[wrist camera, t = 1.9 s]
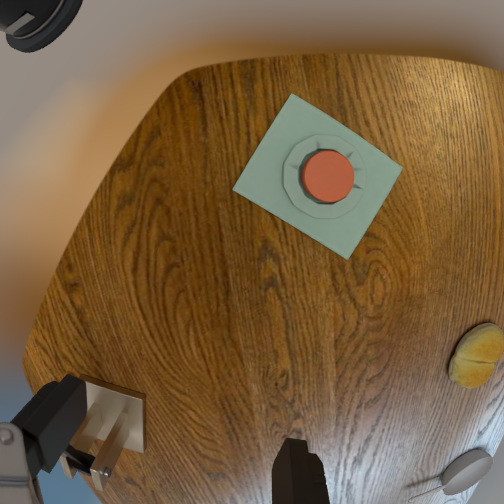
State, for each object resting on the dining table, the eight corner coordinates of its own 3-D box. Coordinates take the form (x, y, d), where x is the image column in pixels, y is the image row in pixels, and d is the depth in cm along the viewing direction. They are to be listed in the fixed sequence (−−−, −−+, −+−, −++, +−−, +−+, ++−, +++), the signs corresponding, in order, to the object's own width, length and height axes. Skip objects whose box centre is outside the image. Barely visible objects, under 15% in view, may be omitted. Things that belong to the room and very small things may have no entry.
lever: (34, 402, 20) (19, 436, 17) (67, 418, 20) (54, 454, 17) (80, 449, 29) (72, 473, 26) (106, 459, 29) (99, 484, 26)
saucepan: (476, 471, 39) (483, 483, 36) (397, 500, 40) (402, 515, 37) (493, 437, 37) (502, 449, 33) (409, 470, 38) (415, 486, 34)
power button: (292, 184, 25) (294, 184, 24) (317, 143, 25) (320, 140, 23) (332, 209, 26) (337, 212, 24) (357, 169, 25) (363, 169, 23)
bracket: (81, 373, 35) (36, 429, 23) (145, 394, 35) (112, 461, 23) (89, 429, 37) (57, 483, 26) (146, 448, 37) (122, 509, 26)
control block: (234, 188, 29) (230, 190, 25) (289, 99, 27) (293, 87, 23) (341, 254, 30) (352, 265, 26) (394, 168, 28) (411, 167, 24)
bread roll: (505, 325, 32) (521, 337, 28) (475, 381, 34) (488, 396, 30) (468, 314, 31) (486, 327, 28) (436, 376, 33) (449, 393, 30)
